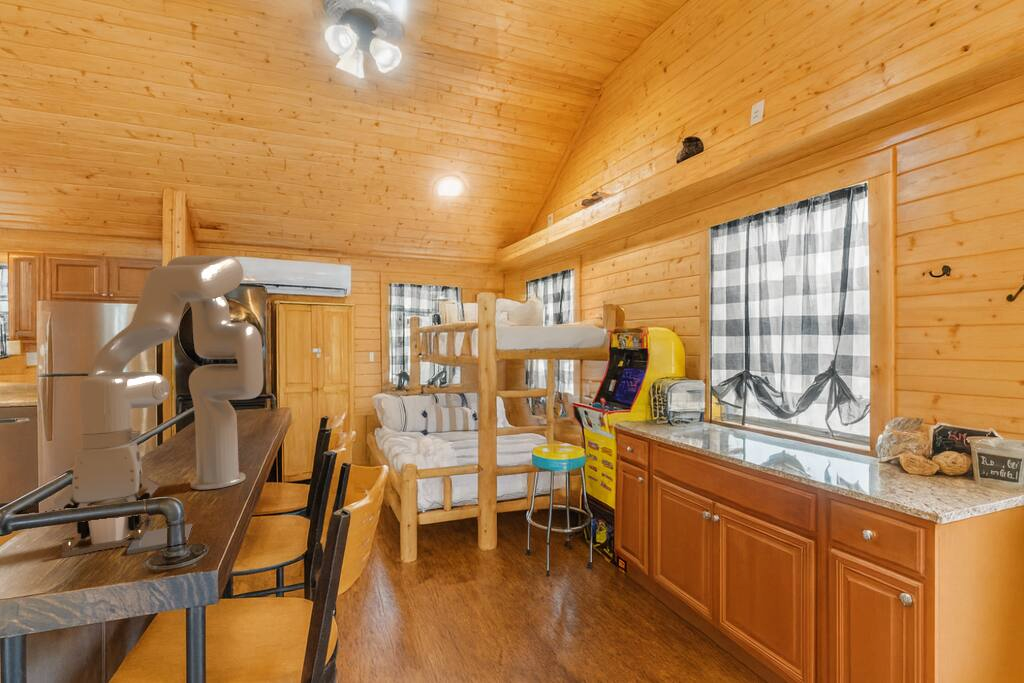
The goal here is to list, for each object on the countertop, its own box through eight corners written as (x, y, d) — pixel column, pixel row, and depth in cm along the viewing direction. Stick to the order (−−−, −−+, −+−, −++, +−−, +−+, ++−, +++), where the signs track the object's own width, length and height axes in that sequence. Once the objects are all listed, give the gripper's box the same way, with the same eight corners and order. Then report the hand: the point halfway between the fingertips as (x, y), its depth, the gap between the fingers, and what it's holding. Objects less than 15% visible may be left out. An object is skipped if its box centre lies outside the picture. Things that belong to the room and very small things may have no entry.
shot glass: (90, 537, 96) (89, 502, 96) (135, 529, 99) (133, 495, 99) (83, 550, 90) (82, 512, 90) (130, 541, 94) (129, 504, 94)
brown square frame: (82, 535, 97) (81, 522, 97) (152, 523, 102) (152, 511, 102) (61, 557, 87) (61, 543, 87) (141, 543, 92) (140, 530, 92)
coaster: (137, 536, 95) (137, 532, 95) (192, 527, 100) (192, 523, 100) (127, 554, 87) (126, 550, 87) (187, 543, 92) (186, 539, 92)
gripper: (164, 431, 102) (167, 517, 102) (54, 442, 94) (58, 535, 94) (158, 438, 95) (161, 529, 95) (39, 450, 87) (43, 549, 87)
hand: (110, 531), depth 95 cm, fingers closed on shot glass, 6 cm apart
